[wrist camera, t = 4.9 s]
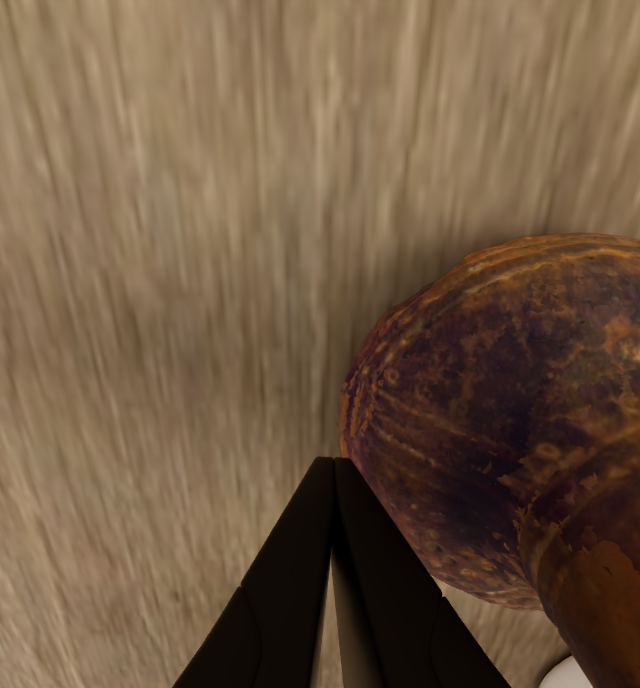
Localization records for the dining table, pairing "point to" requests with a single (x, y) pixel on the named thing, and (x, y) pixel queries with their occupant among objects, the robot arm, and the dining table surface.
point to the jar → (566, 676)
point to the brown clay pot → (517, 435)
